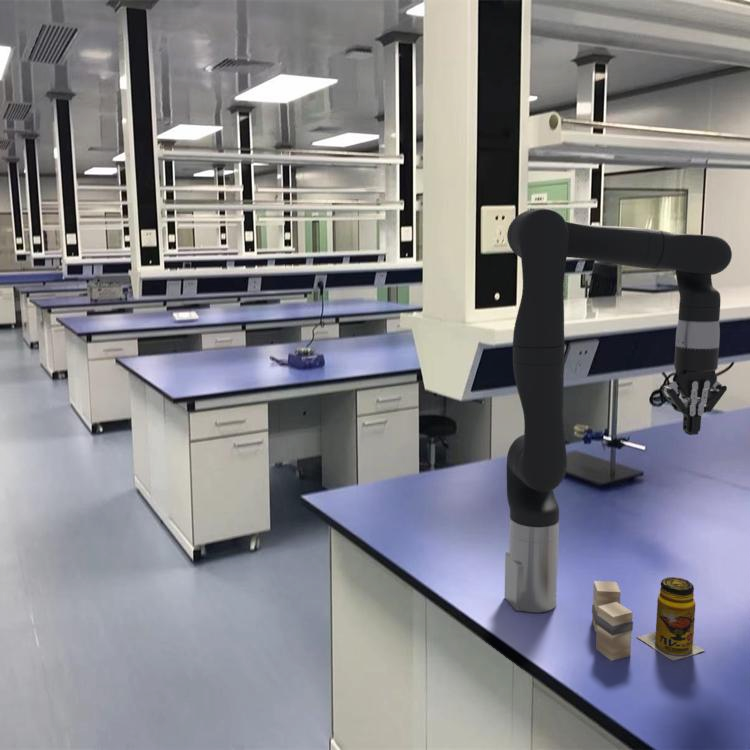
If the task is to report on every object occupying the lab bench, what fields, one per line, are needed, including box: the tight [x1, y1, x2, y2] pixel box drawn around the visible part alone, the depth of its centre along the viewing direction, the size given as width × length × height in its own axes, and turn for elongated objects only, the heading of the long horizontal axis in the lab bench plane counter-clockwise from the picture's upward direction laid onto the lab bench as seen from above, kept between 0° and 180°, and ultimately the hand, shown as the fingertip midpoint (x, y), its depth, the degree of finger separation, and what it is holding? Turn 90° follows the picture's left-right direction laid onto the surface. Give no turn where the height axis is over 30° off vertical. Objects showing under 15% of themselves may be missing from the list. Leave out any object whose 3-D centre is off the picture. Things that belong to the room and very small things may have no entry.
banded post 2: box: [595, 602, 634, 662], centre depth 126 cm, size 4×4×8 cm
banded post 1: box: [591, 580, 621, 633], centre depth 135 cm, size 4×4×8 cm
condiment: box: [636, 576, 705, 662], centre depth 128 cm, size 7×8×12 cm
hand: (691, 433), depth 142 cm, fingers closed
